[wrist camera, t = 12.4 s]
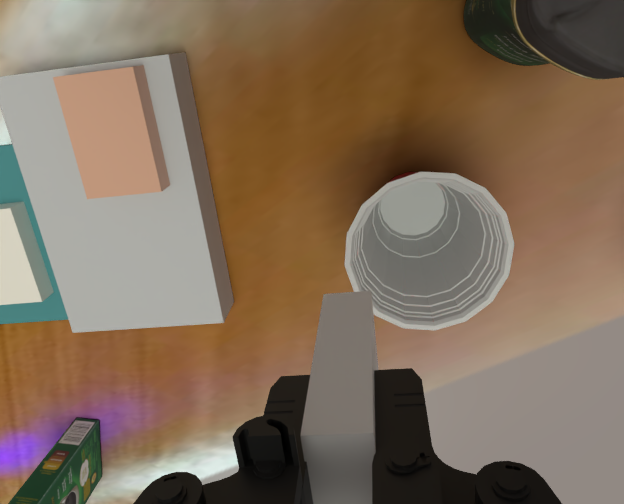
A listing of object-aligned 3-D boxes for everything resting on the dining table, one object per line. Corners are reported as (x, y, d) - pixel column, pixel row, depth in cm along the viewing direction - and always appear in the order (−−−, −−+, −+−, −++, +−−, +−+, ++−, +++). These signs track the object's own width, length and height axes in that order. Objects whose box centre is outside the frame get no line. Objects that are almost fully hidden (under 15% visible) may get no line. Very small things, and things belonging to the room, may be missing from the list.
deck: (21, 74, 45) (-10, 78, 41) (185, 52, 43) (168, 54, 39) (93, 311, 53) (72, 332, 49) (234, 301, 51) (223, 322, 47)
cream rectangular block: (10, 208, 47) (23, 201, 49) (-53, 214, 48) (-38, 207, 50) (42, 301, 50) (53, 292, 52) (-18, 306, 51) (-4, 296, 53)
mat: (-74, 154, 48) (-76, 155, 48) (42, 141, 47) (40, 141, 47) (-9, 323, 55) (-11, 324, 54) (94, 316, 53) (93, 317, 53)
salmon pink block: (66, 75, 41) (52, 77, 39) (143, 65, 40) (132, 66, 38) (98, 192, 44) (87, 199, 42) (170, 184, 43) (161, 191, 41)
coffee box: (74, 413, 58) (-4, 514, 46) (100, 417, 58) (30, 519, 46) (78, 471, 61) (7, 580, 49) (103, 475, 61) (38, 586, 49)
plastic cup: (508, 191, 45) (555, 244, 34) (421, 284, 49) (437, 359, 38) (405, 109, 43) (418, 137, 32) (323, 213, 47) (310, 269, 36)
